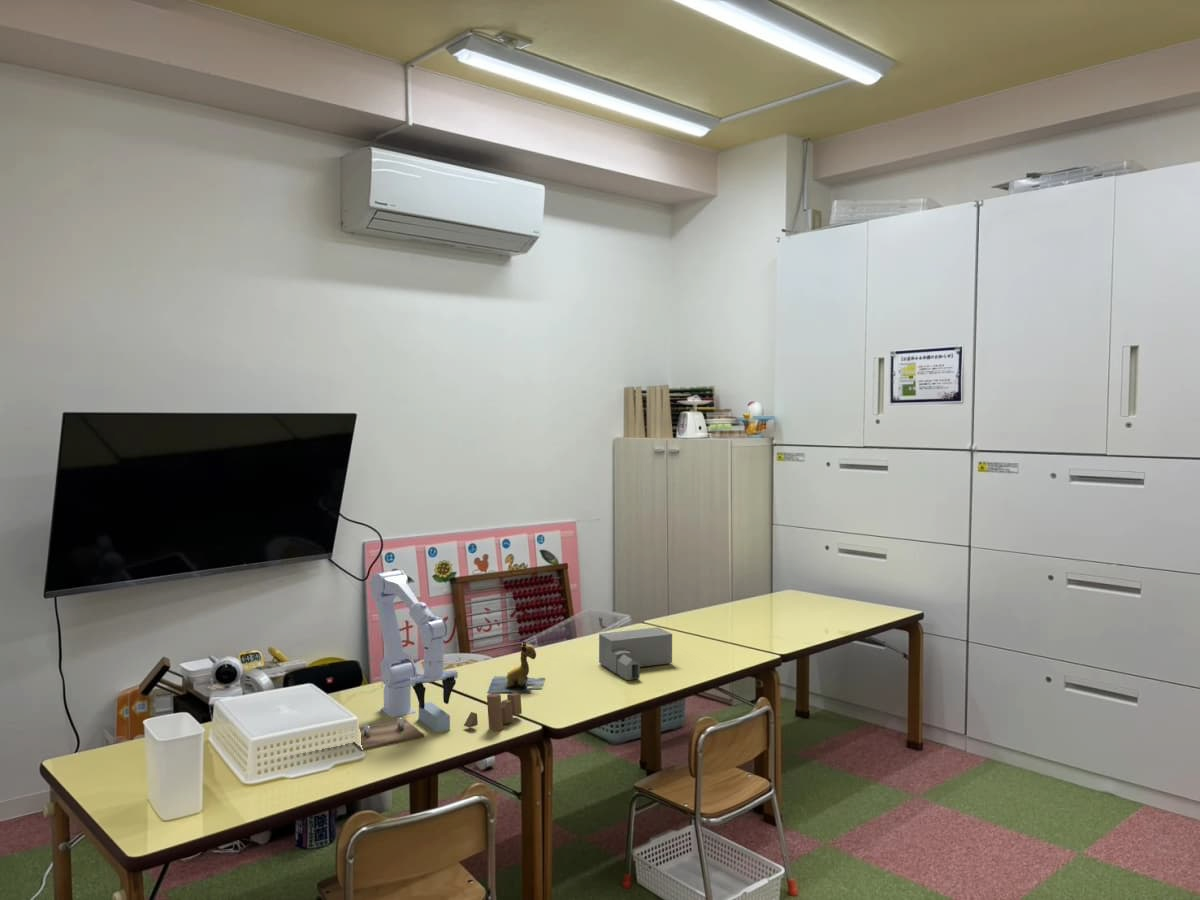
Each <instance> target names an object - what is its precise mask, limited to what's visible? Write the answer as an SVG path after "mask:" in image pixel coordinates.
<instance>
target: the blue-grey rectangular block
mask: <svg viewBox="0 0 1200 900" xmlns="http://www.w3.org/2000/svg"><path fill="white" fill-rule="evenodd" d="M418 720H419V721H420V722H422V723H423V724H425V725H426V727H429V728H430V729H431V730H432V731H434V732H435V733H436V732H437V733H436V734H440V733H443V732H444V731H445V732H448V731H447V730H449V731H451V715H450V714H448V713H447V712H445V710H443V709H441V708H440V707H439V706H437V705H436V704H434V703H433V702H431V701H429V702H425V707H424V709H421V708H420V706H419V705H418ZM439 732H440V733H439ZM445 732H444V733H445Z"/></svg>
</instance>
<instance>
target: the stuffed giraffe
mask: <svg viewBox="0 0 1200 900" xmlns="http://www.w3.org/2000/svg"><path fill="white" fill-rule="evenodd" d="M536 657H537V652H536V650H535V648H534V647H533V645H531V644H528V643H527V642H526V641H525V640H522V646H521V649H520V665H519V666H517V667H515V668H513V669H511V670H509V672H507V675H504V676H503V675H502V676H501V675H500V676H496V675H495V676H494V677H492V680H491V682H490V685H489V687H488V691H487V694H492V693H498V694H500V693H514V692H515V693H519V694H531V693H533V691H540V690H543V688H544V686H545V683H546V677H539V678H538V677H537V678H534V677H528V675H529V673H530V666H529V663H528V658H530V659H531V660H535V659H536Z"/></svg>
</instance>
